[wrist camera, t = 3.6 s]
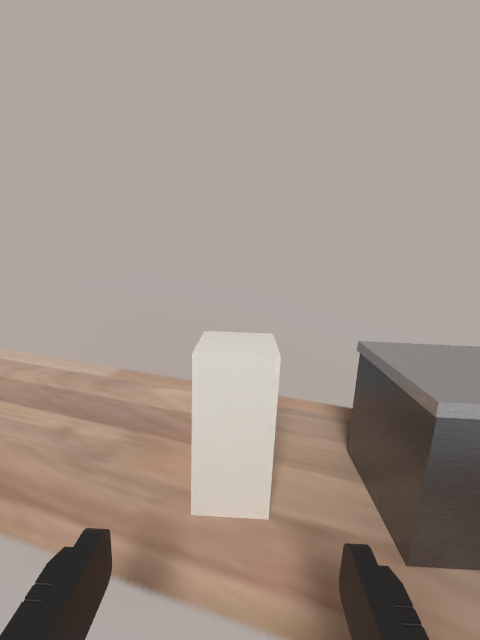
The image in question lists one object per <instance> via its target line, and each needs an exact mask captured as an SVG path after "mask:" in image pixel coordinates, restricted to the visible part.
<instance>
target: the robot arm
mask: <svg viewBox="0 0 480 640" xmlns="http://www.w3.org/2000/svg"><path fill="white" fill-rule="evenodd" d="M111 571H112V553H111V538H110V530H109V529H95V528H86V529H85V530H84V531H83V532H82V534H81V535H80V537H79V539H78V540H77V542H76V544H75V545H74V547H64V548H63V549H62V550H61V551H60V552H59V553H57V554H56V555H55V556H54V557H53V558H52V559H51V560H50V561H49V562H48V563H47V565H46V566H45V568H44V569H43V571H42V573H41V574H40V575H39V577H38V579H37V580H36V583H35V585H33V586H32V588H31V589H30V591H29V592H28V594H27V595H26V597H25V600H24V602H22V603H21V605H20V606H19V608H18V609H17V611H16V613H15V614H14V615H13V617H12V618H11V620H10V622H9V623H8V625H7V626H6V628H5V629H4V631H3V632H2V634H1V635H0V640H85V638H86V636H87V633H88V631H89V629H90V626H91V624H92V622H93V619H94V617H95V614H96V612H97V610H98V608H99V605H100V603H101V600H102V598H103V596H104V593H105V591H106V589H107V586H108V583H109V580H110V576H111ZM339 589H340V596H341V601H342V605H343V609H344V612H345V616H346V620H347V623H348V627H349V631H350V634H351V638H352V640H429V638H428V636H427V634H426V632H425V630H424V628H423V627H422V625H421V621H420V619H419V617H418V615H417V613H416V611H415V609H413V605H412V602H411V600H410V598H409V596H408V594H407V592H406V590H405V588H404V586H403V584H402V583H401V581H400V580H399V579H398V578H397V576H396V575H395V574H394V573H393V572H392V570H391V569H390V568H389V567H388V566H378V564H377V562H376V559H375V557H374V555H373V552H372V550H371V548H370V547H369V546H368V545H365V544H347V543H346V544H344V548H343V554H342V561H341V569H340V576H339Z"/></svg>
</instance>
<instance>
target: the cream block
mask: <svg viewBox="0 0 480 640" xmlns="http://www.w3.org/2000/svg"><path fill="white" fill-rule="evenodd" d="M192 355H193V356H192V357H193V359H192V472H191V515H201V516H219V517H236V518H254V519H269V507H270V494H271V481H272V467H273V454H274V440H275V427H276V414H277V400H278V386H279V374H280V359H281V356H280V353H279V350H278V347H277V344H276V341H275V338H274V335H273V334H260V333H239V332H218V331H205V332H204V333H203V335H202V337H201V339H200V340H199V342H198V344H197V346H196V347H195V349H194V351H193V352H192Z"/></svg>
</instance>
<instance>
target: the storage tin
mask: <svg viewBox="0 0 480 640" xmlns="http://www.w3.org/2000/svg"><path fill="white" fill-rule="evenodd" d="M357 351H358V352H359V353H360V358H359V365H358V372H357V380H356V388H355V395H354V403H353V410H352V417H351V425H350V432H349V439H348V447H347V451H348V453H349V455H350V457H351V459H352V461H353V462H354V464H355V466H356V468H357V470H358V472H359V474H360V476H361V478H362V480H363V482H364V484H365V486H366V488H367V490H368V491H369V493H370V495H371V497H372V499H373V501H374V503H375V505H376V507H377V509H378V511H379V513H380V515H381V517H382V519H383V521H384V522H385V524H386V526H387V528H388V530H389V532H390V534H391V536H392V538H393V540H394V542H395V544H396V546H397V548H398V550H399V551H400V553H401V555H402V557H403V559H404V561H405V563H406V565H407V566H419V567H436V568H453V569H470V570H480V347H472V346H471V347H470V346H450V345H429V344H409V343H408V344H407V343H386V342H366V341H358V347H357Z"/></svg>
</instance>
